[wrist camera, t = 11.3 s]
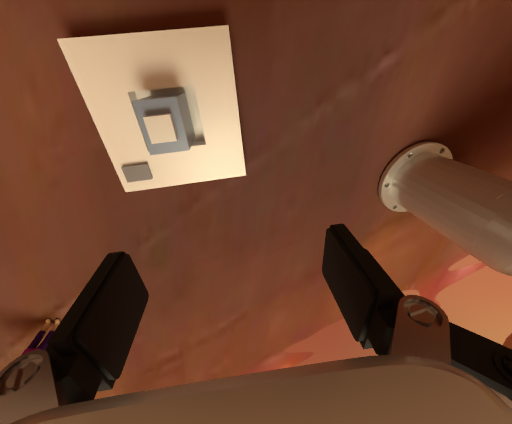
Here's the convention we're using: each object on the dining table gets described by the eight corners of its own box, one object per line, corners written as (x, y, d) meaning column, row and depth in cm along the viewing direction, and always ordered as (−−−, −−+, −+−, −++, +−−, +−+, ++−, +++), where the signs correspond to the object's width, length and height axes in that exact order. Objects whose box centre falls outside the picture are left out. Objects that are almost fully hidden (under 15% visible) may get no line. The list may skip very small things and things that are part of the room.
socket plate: (227, 30, 24) (228, 23, 21) (243, 167, 33) (246, 176, 30) (74, 43, 23) (52, 38, 20) (132, 182, 32) (124, 194, 29)
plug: (185, 92, 26) (174, 97, 20) (194, 135, 29) (188, 153, 22) (150, 95, 26) (128, 102, 19) (163, 139, 29) (147, 158, 22)
